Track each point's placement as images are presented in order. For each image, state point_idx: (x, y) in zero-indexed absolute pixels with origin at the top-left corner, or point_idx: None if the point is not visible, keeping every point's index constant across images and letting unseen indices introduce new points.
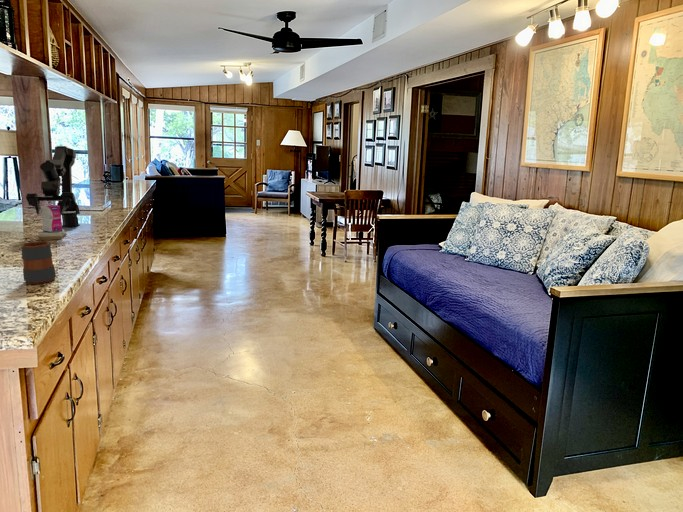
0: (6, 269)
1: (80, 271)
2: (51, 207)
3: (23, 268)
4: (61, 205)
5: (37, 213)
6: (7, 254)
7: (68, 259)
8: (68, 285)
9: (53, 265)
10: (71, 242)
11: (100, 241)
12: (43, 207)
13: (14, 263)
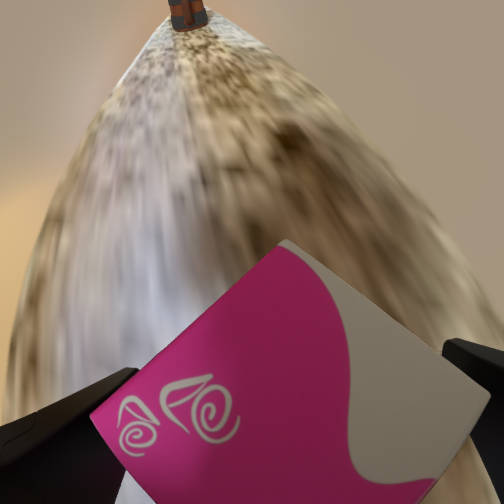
0: (257, 41)
1: (144, 47)
2: (229, 296)
3: (204, 8)
4: (61, 423)
5: (449, 339)
6: (332, 105)
7: (158, 76)
8: (160, 27)
9: (171, 16)
10: (151, 259)
11: (47, 259)
12: (404, 333)
13: (261, 57)
